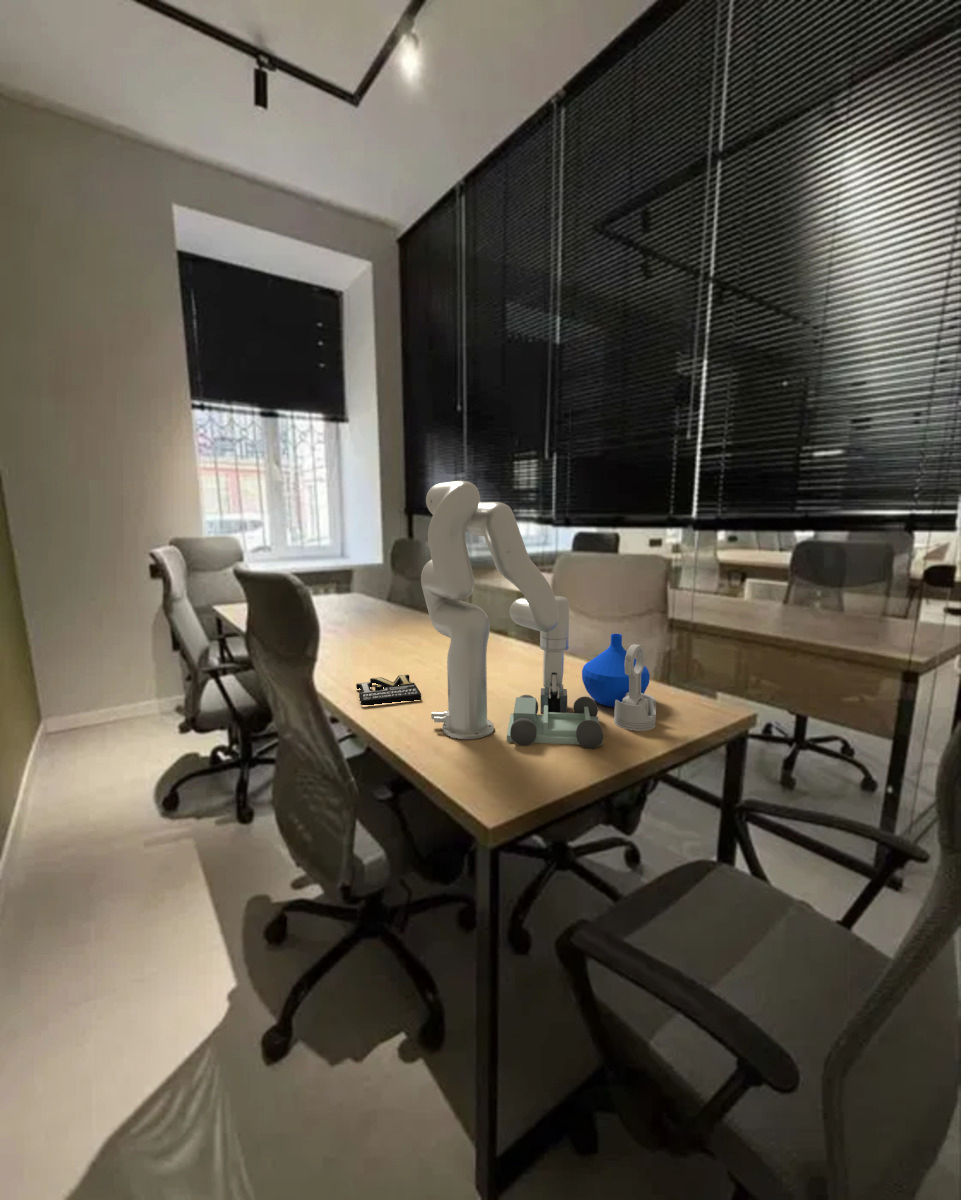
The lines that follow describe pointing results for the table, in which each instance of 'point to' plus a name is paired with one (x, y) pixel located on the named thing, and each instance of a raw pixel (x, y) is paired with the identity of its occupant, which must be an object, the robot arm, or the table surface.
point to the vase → (610, 674)
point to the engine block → (561, 695)
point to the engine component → (635, 696)
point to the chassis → (555, 724)
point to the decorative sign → (388, 691)
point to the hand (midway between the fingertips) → (553, 707)
